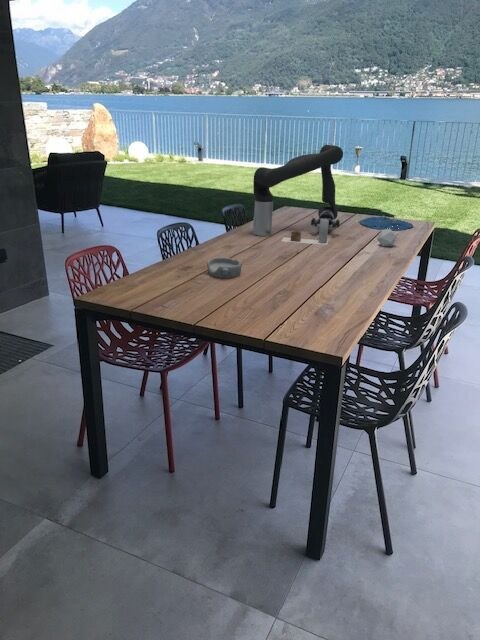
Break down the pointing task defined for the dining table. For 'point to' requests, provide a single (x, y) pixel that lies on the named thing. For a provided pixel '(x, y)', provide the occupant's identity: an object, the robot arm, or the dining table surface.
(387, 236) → the die
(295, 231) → the walnut block
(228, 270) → the dish
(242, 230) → the dining table surface
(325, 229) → the grey post on base
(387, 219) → the decorative plate
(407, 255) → the dining table surface
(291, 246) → the dining table surface
